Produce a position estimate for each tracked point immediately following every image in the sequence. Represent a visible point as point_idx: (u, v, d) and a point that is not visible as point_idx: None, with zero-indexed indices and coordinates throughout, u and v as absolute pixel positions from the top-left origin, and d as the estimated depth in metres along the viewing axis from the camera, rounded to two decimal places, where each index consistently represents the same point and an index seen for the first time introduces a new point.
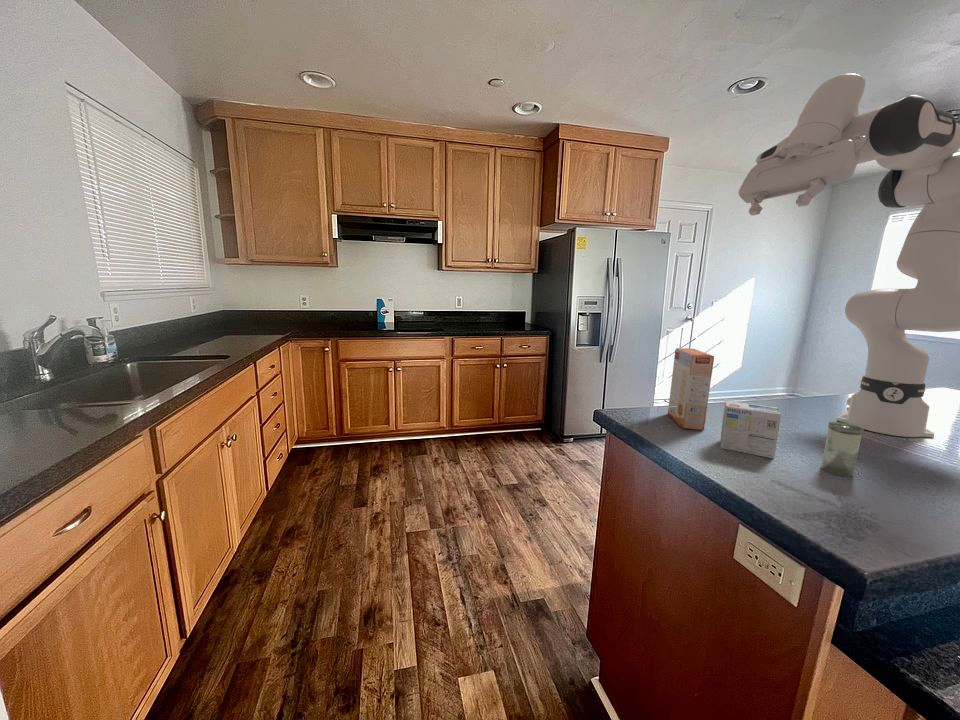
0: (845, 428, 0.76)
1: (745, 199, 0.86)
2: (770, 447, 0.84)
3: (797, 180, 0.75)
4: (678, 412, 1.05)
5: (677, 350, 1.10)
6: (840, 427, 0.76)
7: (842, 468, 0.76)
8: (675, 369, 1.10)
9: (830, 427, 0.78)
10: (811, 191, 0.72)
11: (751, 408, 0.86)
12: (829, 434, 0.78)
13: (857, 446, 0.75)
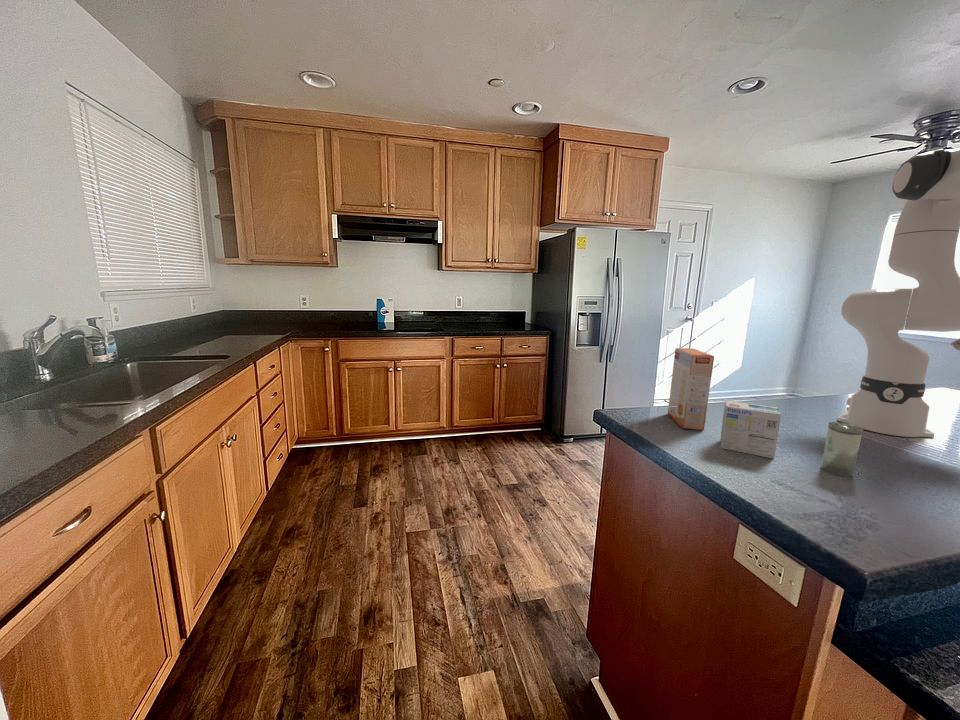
0: (845, 428, 0.76)
1: None
2: (770, 447, 0.84)
3: None
4: (678, 412, 1.05)
5: (677, 350, 1.10)
6: (840, 427, 0.76)
7: (842, 468, 0.76)
8: (675, 369, 1.10)
9: (830, 427, 0.78)
10: None
11: (751, 408, 0.86)
12: (829, 434, 0.78)
13: (857, 446, 0.75)
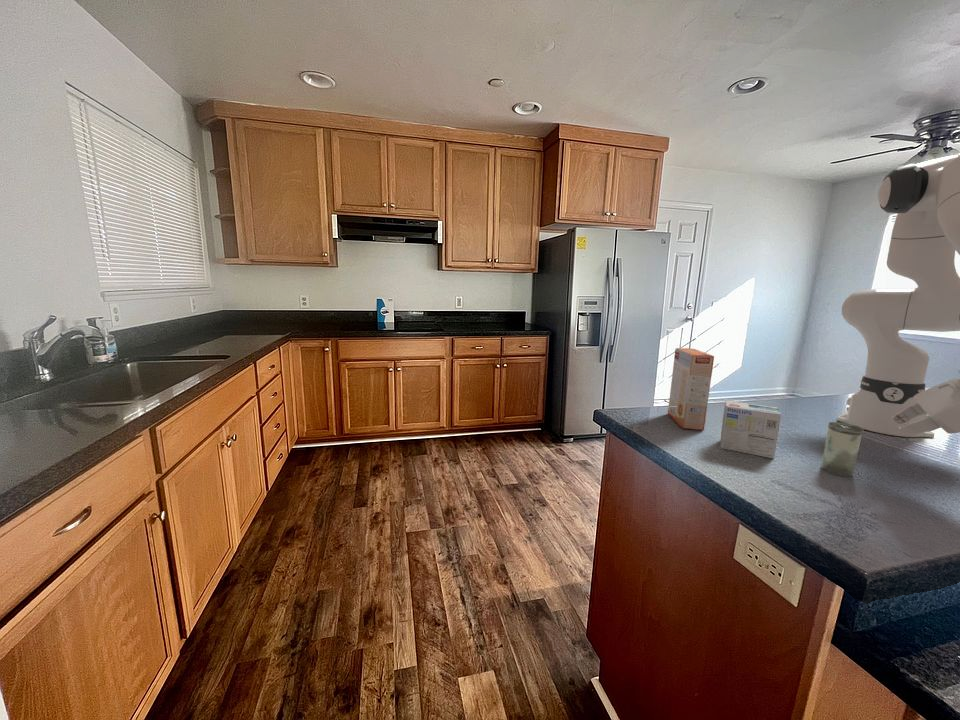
0: (845, 428, 0.76)
1: (937, 424, 0.63)
2: (770, 447, 0.84)
3: None
4: (678, 412, 1.05)
5: (677, 350, 1.10)
6: (840, 427, 0.76)
7: (842, 468, 0.76)
8: (675, 369, 1.10)
9: (830, 427, 0.78)
10: None
11: (751, 408, 0.86)
12: (829, 434, 0.78)
13: (857, 446, 0.75)
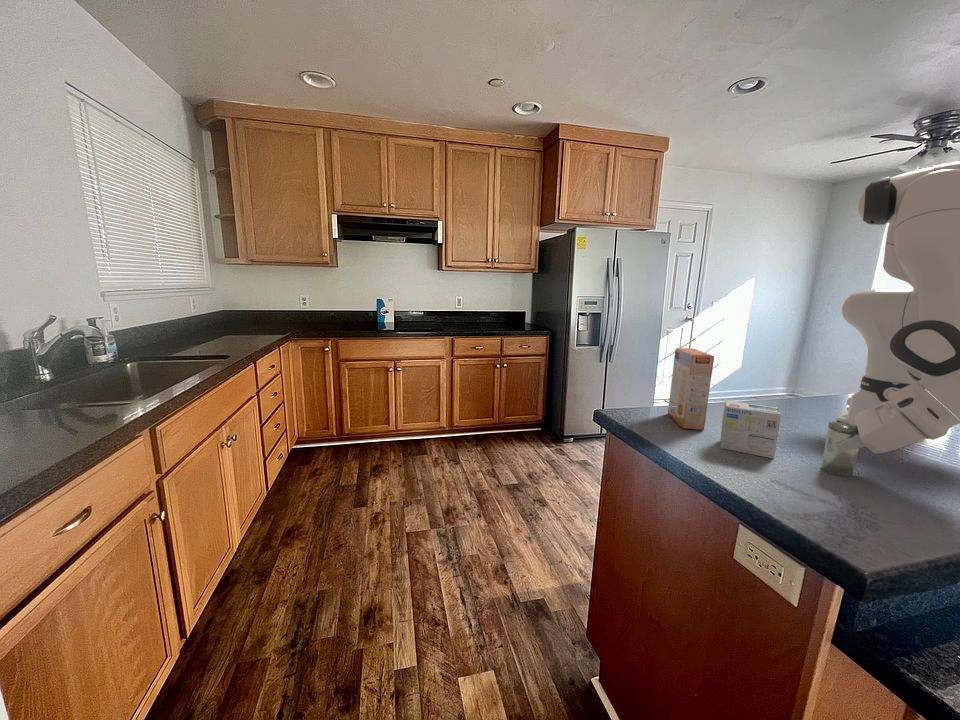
0: (845, 428, 0.76)
1: (865, 444, 0.69)
2: (770, 447, 0.84)
3: None
4: (678, 412, 1.05)
5: (677, 350, 1.10)
6: (840, 427, 0.76)
7: (842, 468, 0.76)
8: (675, 369, 1.10)
9: (830, 427, 0.78)
10: None
11: (751, 408, 0.86)
12: (829, 434, 0.78)
13: None
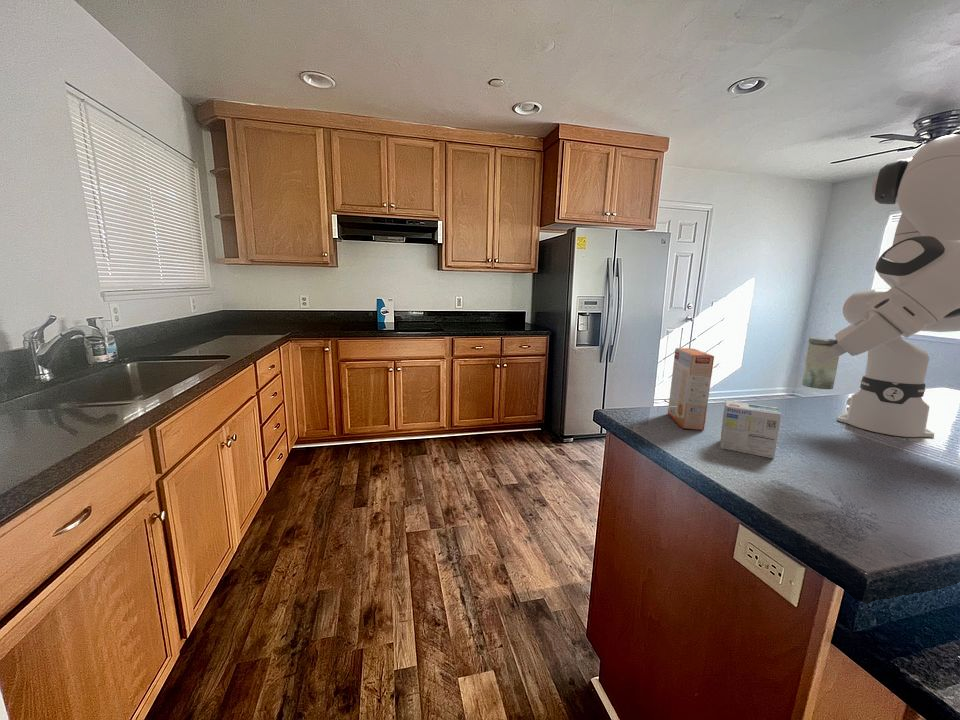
0: (825, 340, 0.76)
1: (843, 348, 0.69)
2: (770, 447, 0.84)
3: None
4: (678, 412, 1.05)
5: (677, 350, 1.10)
6: (820, 340, 0.77)
7: (822, 381, 0.77)
8: (675, 369, 1.10)
9: (810, 341, 0.78)
10: None
11: (751, 408, 0.86)
12: (809, 349, 0.78)
13: (836, 358, 0.76)
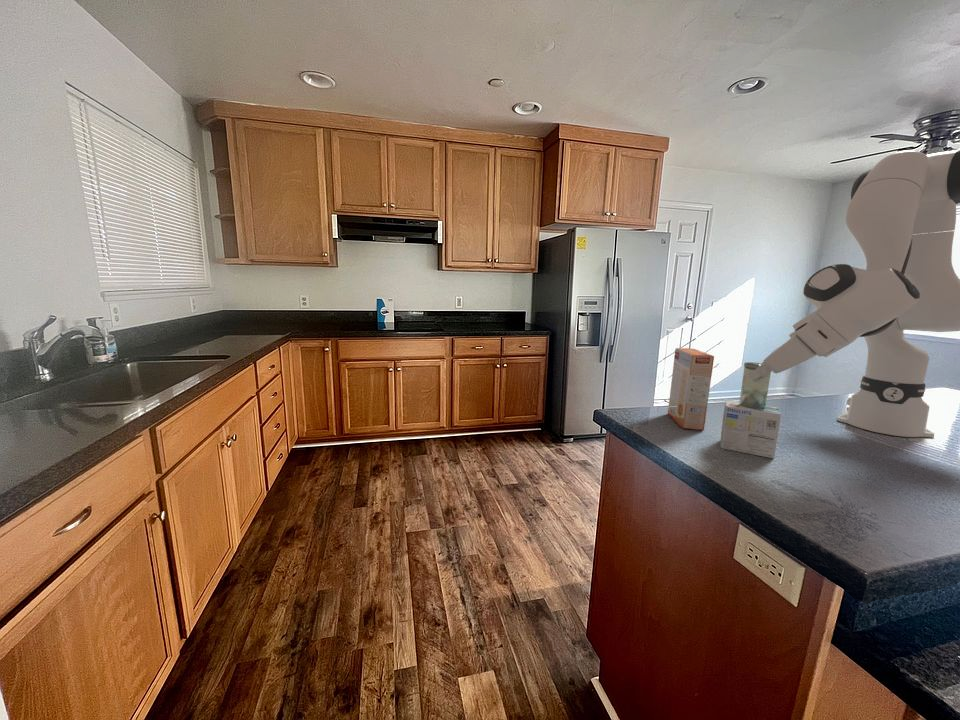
0: (756, 365, 0.85)
1: (768, 366, 0.78)
2: (770, 447, 0.84)
3: None
4: (678, 412, 1.05)
5: (677, 350, 1.10)
6: (752, 365, 0.85)
7: (754, 402, 0.85)
8: (675, 369, 1.10)
9: (745, 366, 0.87)
10: None
11: (751, 408, 0.86)
12: (744, 372, 0.87)
13: (766, 381, 0.84)
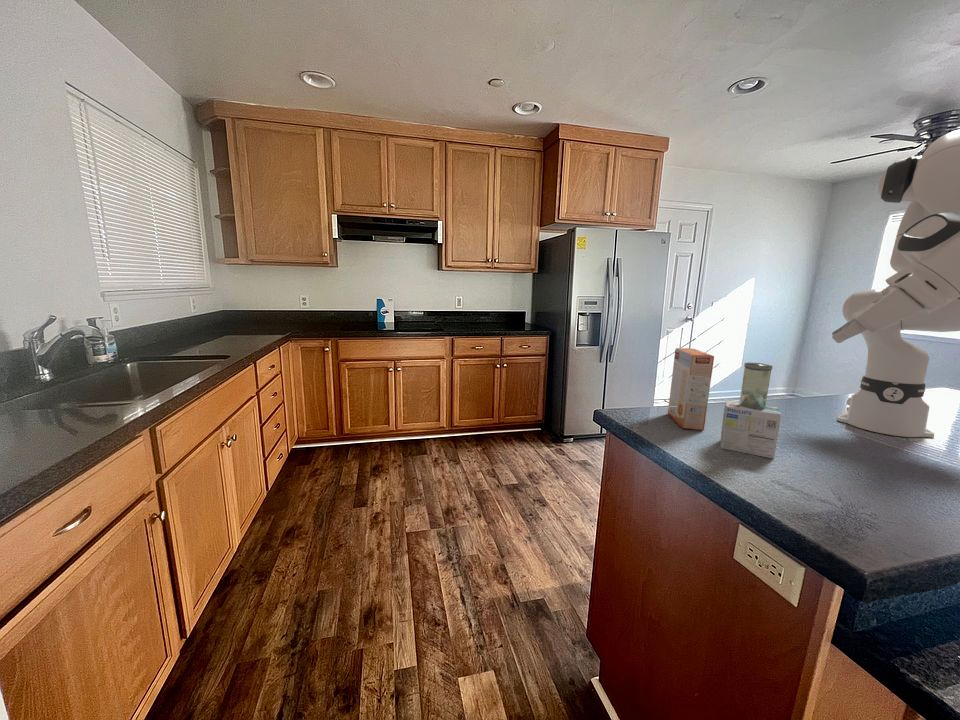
0: (756, 365, 0.85)
1: (862, 325, 0.68)
2: (770, 448, 0.84)
3: None
4: (678, 412, 1.05)
5: (677, 350, 1.10)
6: (752, 365, 0.85)
7: (754, 402, 0.85)
8: (675, 369, 1.10)
9: (745, 366, 0.87)
10: None
11: None
12: (744, 372, 0.87)
13: (767, 381, 0.84)
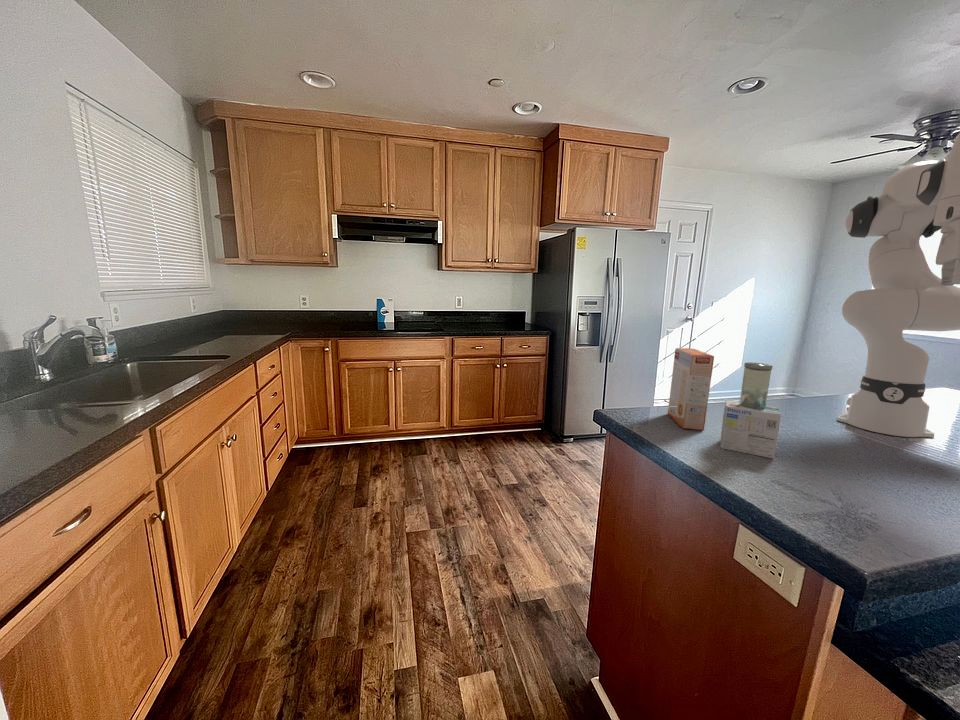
0: (756, 365, 0.85)
1: None
2: (770, 447, 0.84)
3: None
4: (678, 412, 1.05)
5: (677, 350, 1.10)
6: (752, 365, 0.85)
7: (755, 402, 0.85)
8: (675, 369, 1.10)
9: (745, 366, 0.87)
10: None
11: None
12: (744, 372, 0.87)
13: (767, 381, 0.84)
